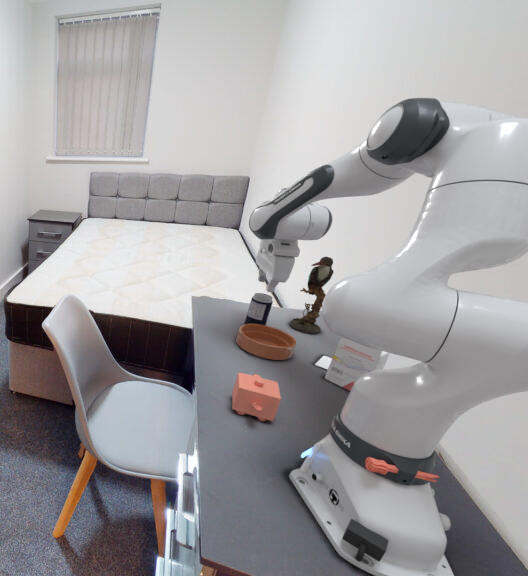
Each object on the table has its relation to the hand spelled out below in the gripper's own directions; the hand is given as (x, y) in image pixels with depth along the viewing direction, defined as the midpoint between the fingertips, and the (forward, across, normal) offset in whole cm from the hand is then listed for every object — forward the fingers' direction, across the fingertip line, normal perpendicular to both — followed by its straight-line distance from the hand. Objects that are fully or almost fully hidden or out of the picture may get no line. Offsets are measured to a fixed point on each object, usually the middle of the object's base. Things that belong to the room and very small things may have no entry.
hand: (265, 286), depth 115 cm
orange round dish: (+15, +12, 0) cm, 20 cm away
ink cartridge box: (+16, +25, +16) cm, 34 cm away
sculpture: (+15, -7, +16) cm, 23 cm away
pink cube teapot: (+16, +45, -10) cm, 49 cm away
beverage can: (+16, 0, 0) cm, 16 cm away
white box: (+15, +16, +17) cm, 28 cm away
